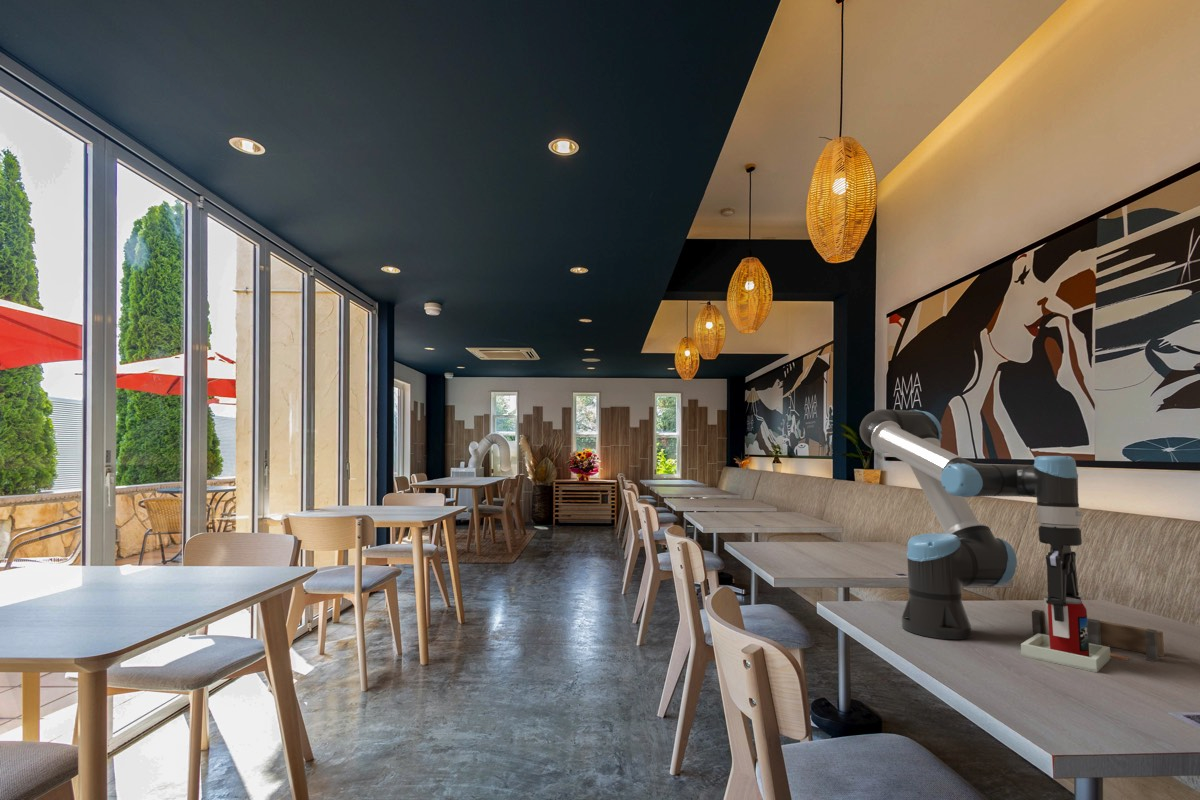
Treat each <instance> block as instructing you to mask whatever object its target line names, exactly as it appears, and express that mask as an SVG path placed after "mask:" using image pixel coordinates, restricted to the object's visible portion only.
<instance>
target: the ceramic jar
mask: <svg viewBox="0 0 1200 800" xmlns="http://www.w3.org/2000/svg"><path fill="white" fill-rule="evenodd" d="M1042 596H1043V609H1044V610H1043V611H1044V615H1045V634H1044V635H1049V622H1048V604H1047V603H1046V600H1048V590H1043V591H1042ZM1077 597H1080V595H1079V596H1077Z"/></svg>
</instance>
